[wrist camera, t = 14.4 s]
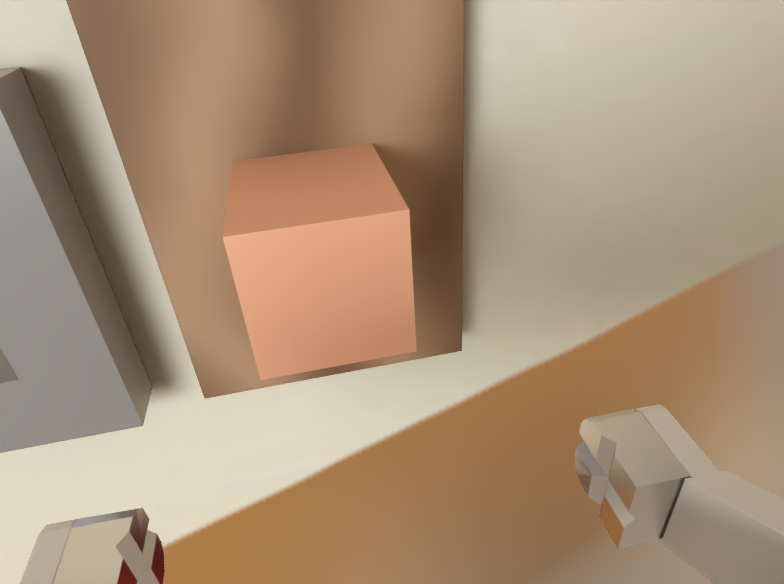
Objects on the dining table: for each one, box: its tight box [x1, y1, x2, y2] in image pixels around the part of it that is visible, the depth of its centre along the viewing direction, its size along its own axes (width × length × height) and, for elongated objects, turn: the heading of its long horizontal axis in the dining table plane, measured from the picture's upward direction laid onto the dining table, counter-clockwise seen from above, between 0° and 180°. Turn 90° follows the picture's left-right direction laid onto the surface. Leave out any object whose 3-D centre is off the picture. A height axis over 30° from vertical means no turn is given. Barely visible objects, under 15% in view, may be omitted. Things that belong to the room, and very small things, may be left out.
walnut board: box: [66, 0, 464, 398], centre depth 22 cm, size 12×16×2 cm
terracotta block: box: [223, 143, 417, 380], centre depth 18 cm, size 5×5×6 cm
